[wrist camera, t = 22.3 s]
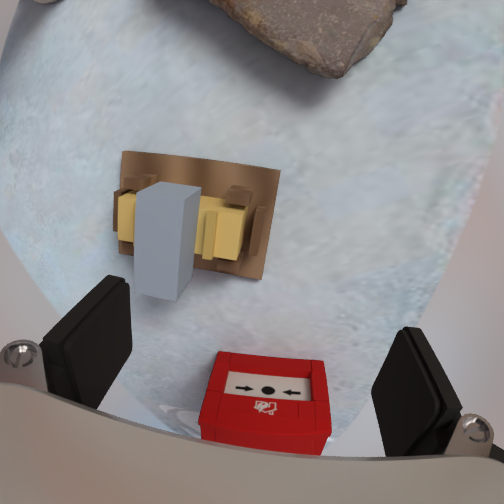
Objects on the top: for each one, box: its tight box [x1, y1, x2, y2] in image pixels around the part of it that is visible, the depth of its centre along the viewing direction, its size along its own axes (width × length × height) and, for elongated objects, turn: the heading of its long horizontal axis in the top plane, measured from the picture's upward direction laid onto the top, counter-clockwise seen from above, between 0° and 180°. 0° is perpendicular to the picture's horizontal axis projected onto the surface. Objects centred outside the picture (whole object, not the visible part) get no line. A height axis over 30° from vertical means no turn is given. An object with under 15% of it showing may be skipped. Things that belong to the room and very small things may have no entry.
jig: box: [113, 151, 281, 280], centre depth 38 cm, size 20×14×6 cm
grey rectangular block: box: [134, 181, 202, 302], centre depth 32 cm, size 4×10×6 cm, turn 171°
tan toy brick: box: [118, 190, 248, 260], centre depth 37 cm, size 14×5×7 cm, turn 82°
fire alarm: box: [198, 351, 332, 455], centre depth 43 cm, size 16×11×15 cm
